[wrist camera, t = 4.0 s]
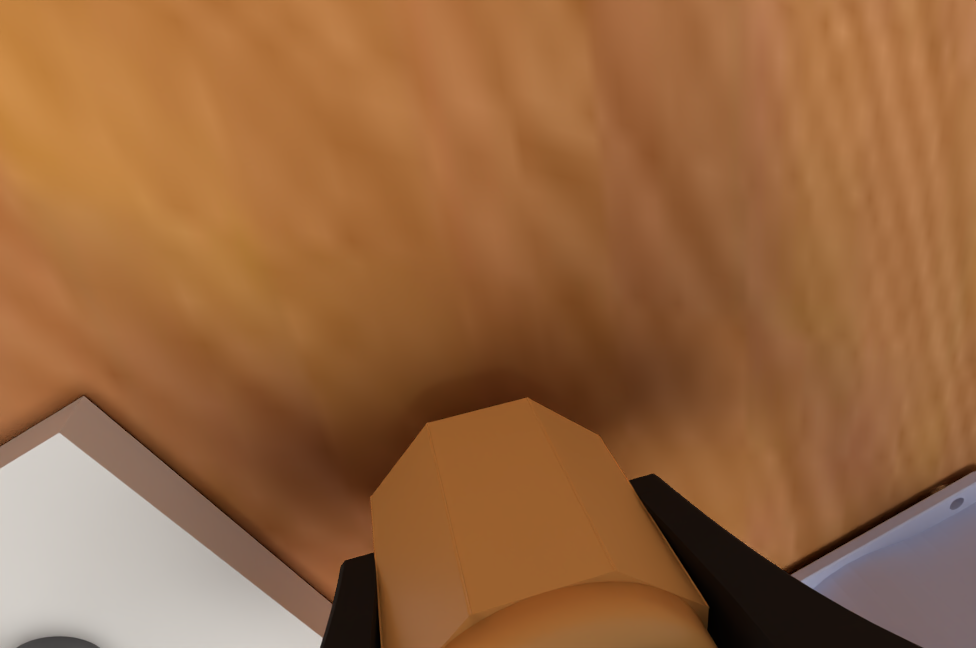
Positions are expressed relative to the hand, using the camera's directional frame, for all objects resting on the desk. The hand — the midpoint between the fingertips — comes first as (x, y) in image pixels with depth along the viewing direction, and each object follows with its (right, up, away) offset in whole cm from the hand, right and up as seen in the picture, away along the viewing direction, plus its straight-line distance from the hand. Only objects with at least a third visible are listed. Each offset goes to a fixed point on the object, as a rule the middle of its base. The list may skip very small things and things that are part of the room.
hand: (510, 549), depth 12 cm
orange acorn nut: (0, +1, +1) cm, 1 cm away
